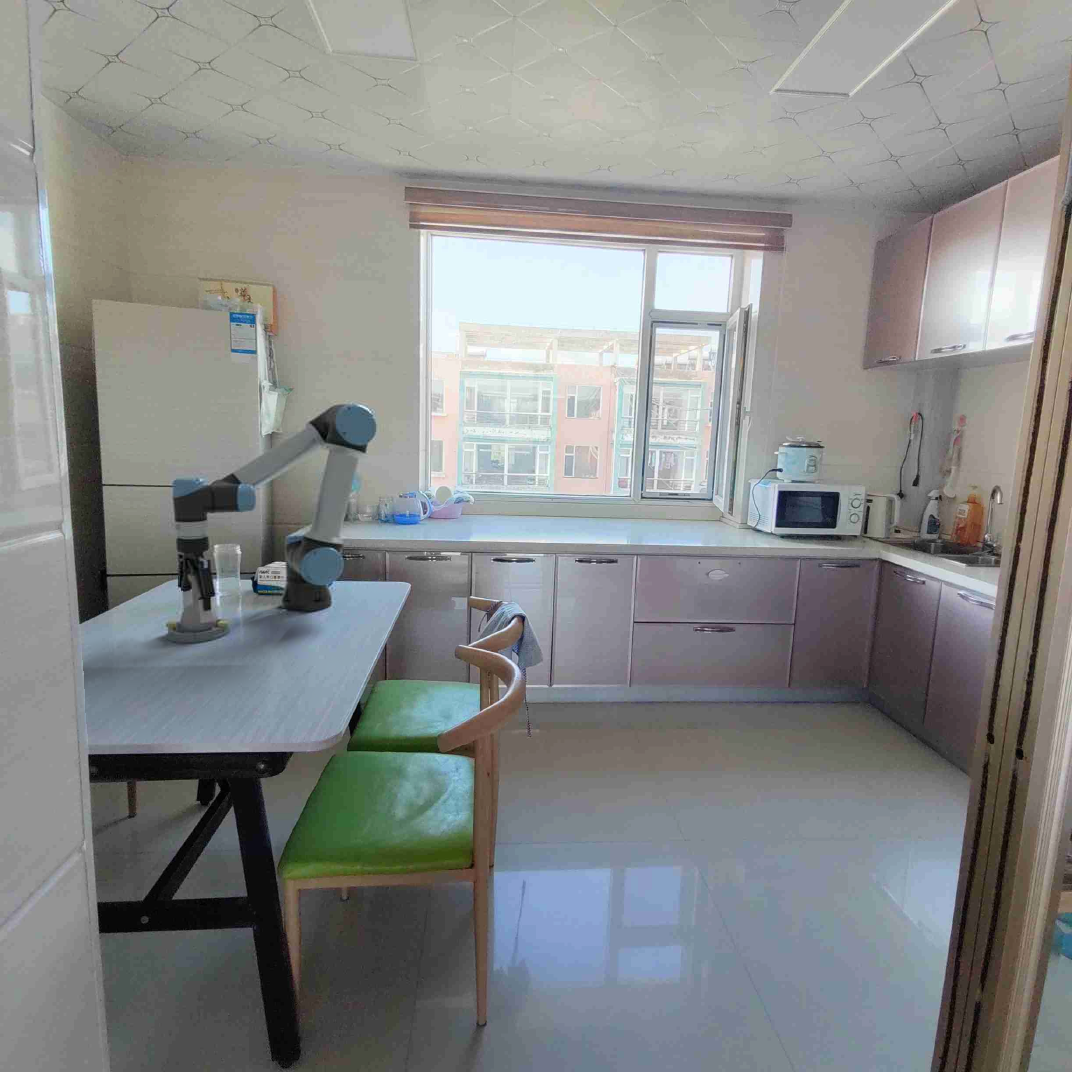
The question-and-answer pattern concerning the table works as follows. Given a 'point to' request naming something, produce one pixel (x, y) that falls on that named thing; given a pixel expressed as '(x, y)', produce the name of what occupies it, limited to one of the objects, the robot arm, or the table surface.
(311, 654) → the table surface
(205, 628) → the potion bottle
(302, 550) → the robot arm
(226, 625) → the grey flat ring
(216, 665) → the table surface
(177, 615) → the table surface
